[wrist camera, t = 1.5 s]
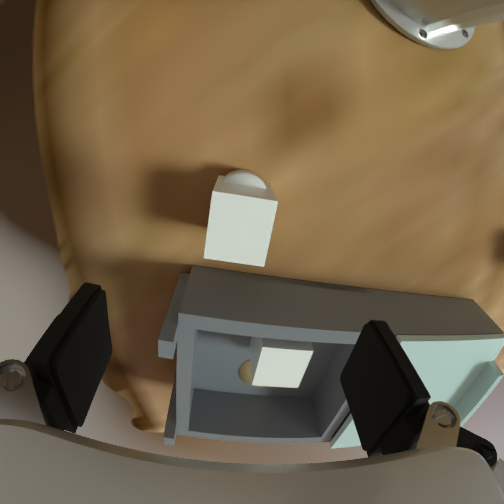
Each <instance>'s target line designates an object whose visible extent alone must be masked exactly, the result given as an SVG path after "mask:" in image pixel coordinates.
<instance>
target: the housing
mask: <svg viewBox="0 0 504 504" xmlns="http://www.w3.org/2000/svg"><path fill="white" fill-rule="evenodd" d="M370 320H383V321H385V322H386V323H387V324H388V326H389V327H390V329H391V330H392V332H393V334H394V335H395V337H397V335H486V334H504V332H503V331H502V330H501V329H500V328H499V327H498V326H497V325H496V324H495V322H494V321H493V320H492V319H491V318H490V317H489V316H488V315H487V314H486V313H485V312H484V311H483V310H482V309H481V308H480V307H479V306H478V304H477V303H476V302H475V301H474V300H471V299H461V298H451V297H441V296H431V295H422V294H412V293H403V292H394V291H385V290H377V289H368V288H360V287H351V286H343V285H335V284H327V283H319V282H311V281H303V280H296V279H288V278H280V277H273V276H266V275H258V274H251V273H244V272H237V271H230V270H223V269H216V268H209V267H202V266H195V265H192V268H191V272H190V274H188V273H180V275H179V278H178V281H177V284H176V287H175V290H174V293H173V295H172V298H171V301H170V304H169V307H168V310H167V313H166V316H165V319H164V322H163V325H162V328H161V332H160V335H159V338H158V357H162V358H167V359H173V357H174V352H175V348H176V344H177V372H176V374H175V379H174V384H173V389H172V394H171V399H170V405H169V410H168V415H167V420H166V426H165V431H164V444H165V445H171V446H174V445H175V438H176V431H177V434H178V435H185V436H192V437H200V438H207V439H216V440H227V441H239V442H259V443H316V442H330V441H331V440H332V439H333V437H334V436H335V435H336V433H337V432H338V431H339V429H340V428H341V426H342V425H343V424H344V422H345V421H346V419H347V418H348V416H349V415H350V414H351V412H350V409H349V406H348V403H347V400H346V397H345V394H344V391H343V388H342V385H341V382H340V375H341V372H342V370H343V368H344V366H345V364H346V362H347V360H348V358H349V356H350V354H351V352H352V350H353V348H354V346H355V344H356V342H357V339H358V337H359V335H360V333H361V331H362V328H363V326H364V325H365V324H366V323H368V322H369V321H370ZM251 337H261V338H271V339H281V340H293V341H306V342H311V343H312V347H313V350H314V351H313V354H312V356H311V359H310V361H309V363H308V366H307V368H306V371H305V373H304V375H303V378H302V380H301V382H300V384H299V387H298V388H288V387H270V386H256V385H252V378H251V356H250V340H251Z"/></svg>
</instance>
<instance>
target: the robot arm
mask: <svg viewBox="0 0 504 504" xmlns="http://www.w3.org/2000/svg"><path fill="white" fill-rule="evenodd" d="M370 1H371V2H372V4H373V5H374V6H375V8H376V9H377V10H378V12H379V13H380V14H381V15H382V16H383V17H384V18H385V19H386V20H387V21H388V22H389V23H390V24H391V25H392V26H393V27H395V28H396V29H397V30H398V31H399V32H401V33H402V34H404V35H405V36H407V37H408V38H410V39H411V40H413V41H415V42H417V43H419V44H421V45H424V46H427V47H429V48H433V49H439V50H449V49H454V48H459V47H461V46H463V45H465V44H466V43H467V42H468V41H469V40H470V39H471V37H472V35H473V33H474V31H475V26H480V25H485V24H489V23H495V22H500V21H504V0H370ZM111 354H112V344H111V337H110V329H109V321H108V312H107V302H106V292H105V291H104V290H102V289H101V286H100V285H96V284H91V283H84V284H83V285H82V286H81V287H80V289H79V290H78V291H77V293H76V294H75V295H74V296H73V298H72V299H71V300H70V301H69V303H68V304H67V305H66V307H65V308H64V309H63V311H62V312H61V313H60V314H59V315H58V316H57V317H56V318H55V319H54V321H53V322H52V323H51V325H50V326H49V328H48V329H47V330H46V332H45V333H44V334H43V336H42V337H41V339H40V340H39V341H38V343H37V344H36V346H35V347H34V349H33V350H32V352H31V353H30V355H29V356H28V358H27V359H26V361H25V362H24V363H23V362H21V361H19V360H14V359H11V360H5V361H3V362H0V504H504V461H503V460H501V459H500V458H499V459H498V460H497V452H496V449H495V448H494V446H493V444H491V443H490V442H489V441H488V440H486V439H484V438H482V437H480V436H478V435H476V434H474V433H472V432H470V431H468V430H466V429H464V428H462V427H460V417H459V414H458V412H457V411H456V409H455V408H454V407H453V406H451V405H450V404H448V403H446V402H443V401H436V402H433V403H432V404H431V405H430V404H429V402H428V401H429V399H430V398H431V396H430V394H429V392H428V390H427V389H426V387H425V385H424V383H423V382H422V380H421V378H420V377H419V375H418V373H417V371H416V370H415V368H414V366H413V365H412V363H411V361H410V360H409V358H408V356H407V355H406V353H405V351H404V350H403V348H402V346H401V345H400V343H399V342H398V340H397V338H396V337H395V335H394V334H393V332H392V330H391V329H390V327H389V326H388V324H387V323H386V322H385V321H383V320H370V321H369V322H368V323H366V324H365V325H364V326H363V328H362V331H361V333H360V335H359V337H358V339H357V342H356V344H355V346H354V348H353V350H352V352H351V354H350V356H349V358H348V360H347V362H346V364H345V366H344V368H343V370H342V372H341V375H340V382H341V385H342V388H343V391H344V394H345V397H346V400H347V403H348V406H349V409H350V412H351V415H352V418H353V421H354V424H355V427H356V430H357V433H358V436H359V439H360V442H361V446H362V448H363V450H365V451H367V455H368V458H361V459H354V460H347V461H336V462H325V463H310V464H283V465H264V464H236V463H220V462H209V461H200V460H192V459H184V458H177V457H171V456H164V455H159V454H153V453H148V452H142V451H138V450H134V449H129V448H125V447H121V446H117V445H113V444H109V443H105V442H101V441H97V440H93V439H90V438H87V437H83V436H80V435H76V434H73V433H75V432H76V430H77V427H78V426H79V427H81V426H82V425H83V423H84V421H85V418H86V416H87V413H88V410H89V408H90V405H91V403H92V400H93V397H94V395H95V393H96V390H97V388H98V385H99V383H100V381H101V378H102V376H103V374H104V371H105V369H106V367H107V364H108V362H109V360H110V357H111ZM64 430H67V431H69V432H67V431H64ZM70 432H72V433H70Z"/></svg>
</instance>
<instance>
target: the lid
mask: <svg viewBox="0 0 504 504" xmlns="http://www.w3.org/2000/svg"><path fill="white" fill-rule="evenodd" d="M396 338H397V340H398V342H399V343H400V345H401V346H402V348H403V350H404V351H405V353H406V355H407V356H408V358H409V360H410V361H411V363H412V365H413V366H414V368H415V370H416V371H417V373H418V375H419V377H420V378H421V380H422V382H423V383H424V385H425V387H426V389H427V390H428V392H429V394H430V396H431V398H430V399H429V401H428V402H429V404H430V405H431V404H432V403H433V402H436V401H443V402H446V403H448V404H450V405H451V406H453V407H454V408H455V409H456V411H457V412H458V414H459V417H460V427H461V426H462V425H463V424H464V423H465V422H466V421H467V420H468V419H469V418H470V417H471V415H472V414H473V413H474V412H475V411H476V410H477V409H478V407H479V406H480V405H481V404H482V403H483V401H484V400H485V399H486V398H487V396H488V395H489V394H490V392H492V390H493V389H494V388H495V386H496V385H497V384H498V382H499V381H500V380H501V378H502V377H503V376H504V374H503V373H502V371H501V370H500V369H499V367H498V366H497V365H496V363H495V362H494V360H495V358H496V357H497V355H498V354H499V352H500V351H501V349H502V347H503V346H504V334H486V335H397V337H396ZM329 444H330V448H343V447H353V446H361V442H360V439H359V436H358V433H357V430H356V427H355V424H354V421H353V418H352V415H351V414H350V415H349V416H348V418H347V419H346V421H345V422H344V424H343V425H342V426H341V428H340V429H339V431H338V432H337V433H336V435H335V436H334V437H333V439H332V440H331V441H330V443H329Z"/></svg>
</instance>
